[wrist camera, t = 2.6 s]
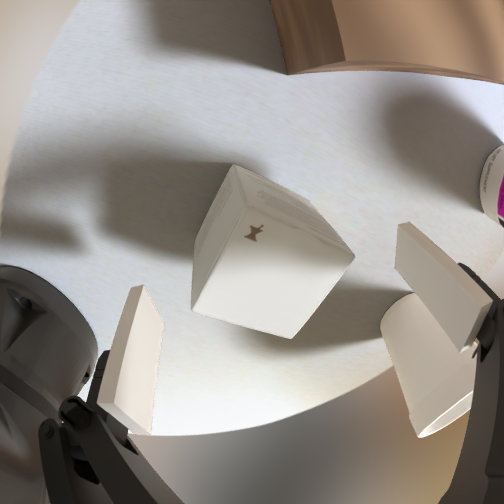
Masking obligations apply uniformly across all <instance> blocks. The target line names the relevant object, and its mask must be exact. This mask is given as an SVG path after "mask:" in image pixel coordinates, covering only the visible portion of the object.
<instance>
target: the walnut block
mask: <svg viewBox="0 0 504 504" xmlns="http://www.w3.org/2000/svg"><path fill="white" fill-rule="evenodd" d="M270 3H271V7H272V11H273V14H274V18H275V22H276V26H277V30H278V34H279V38H280V43H281V47H282V51H283V56H284V60H285V65H286V69H287V74H288V75H295V74H304V73H315V72H330V71H399V72H413V73H424V74H433V75H440V76H447V77H456V78H465V79H473V80H480V81H486V82H492V83H498V84H503V85H504V0H270Z"/></svg>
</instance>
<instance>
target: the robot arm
mask: <svg viewBox="0 0 504 504" xmlns="http://www.w3.org/2000/svg"><path fill="white" fill-rule="evenodd" d="M394 268H395V269H396V270H397V271H398V273H399V274H400V275H401V276H402V277H403V279H404V280H405V281H406V282H407V283H408V285H409V286H410V287H411V288H412V290H413V291H414V292H415V293H416V295H417V296H418V297H419V298H420V300H421V301H422V302H423V303H424V305H425V306H426V307H427V309H428V310H429V311H430V312H431V314H432V315H433V316H434V318H435V319H436V320H437V322H438V323H439V324H440V326H441V327H442V329H443V330H444V331H445V333H446V334H447V336H448V337H449V338H450V340H451V341H452V343H453V344H454V345H455V347H456V348H457V350H458V351H459V353H461V352H463V351H465V350H466V349H468V348H470V347H472V345H473V343H474V341H475V339H476V338H477V339H478V340H479V344H478V346H477V347H476V349H475V351H474V353H473V355H472V358H473V359H474V357H475V355H476V353H477V358H476V359H477V362H476V373H475V383H474V390H473V397H472V404H471V410H470V415H469V420H468V425H467V430H466V434H465V438H464V442H463V447H462V450H461V454H460V457H459V461H458V464H457V467H456V470H455V473H454V476H453V479H452V482H451V485H450V487H449V489H448V491H447V492H446V493H445V494H444V496H443V497H442V498H441V500H440V502H439V503H438V504H504V299H502V300H501V299H500V298H499V297H498V296H497V295H496V294H495V293H494V292H493V291H492V290H491V289H490V288H489V287H488V286H487V285H486V284H485V283H484V282H483V281H481V278H480V277H479V276H478V275H477V276H476V274H475V273H474V272H473V271H472V270H471V269H470V268H469V267H467V266H466V265H464V264H462V263H458V264H457V263H456V262H455V261H454V260H453V259H451V258H450V257H449V256H448V255H447V254H446V253H445V252H444V251H443V250H442V249H441V248H439V247H438V246H437V245H436V244H435V243H434V242H433V241H432V240H430V239H429V238H428V237H427V236H426V235H425V234H423V233H422V232H421V231H420V230H419V229H417V228H416V227H415V226H414V225H413V224H411V223H410V222H407V223H403V224H399V225H398V233H397V246H396V257H395V267H394ZM164 326H165V323H164V321H163V319H162V317H161V316H160V314H159V312H158V310H157V308H156V307H155V305H154V303H153V301H152V299H151V297H150V295H149V293H148V291H147V290H146V288H145V286H144V285H141V286H136V287H132V288H131V289H130V292H129V295H128V297H127V300H126V303H125V306H124V309H123V312H122V315H121V318H120V321H119V324H118V327H117V330H116V333H115V337H114V340H113V343H112V346H111V350H106V351H104V352H103V353H102V355H101V356H100V358H99V359H98V362H97V365H96V368H95V370H96V371H95V372H94V375H93V379H92V382H91V386H90V390H89V394H88V397H87V401H86V402H84V401H83V400H82V399H81V398H80V397H78V396H77V395H78V394H79V392H80V391H81V389H82V388H83V386H84V384H86V383H87V382H88V380H89V379H90V377H91V375H92V373H93V370H94V367H95V363H96V360H97V356H98V346H97V341H96V338H95V335H94V333H93V331H92V329H91V327H90V326H89V324H88V322H87V321H86V319H85V318H84V317H83V315H82V314H81V313H80V312H79V310H78V309H77V308H76V307H75V306H74V305H73V304H72V303H71V302H70V301H69V300H68V299H67V298H66V297H65V296H64V295H63V294H62V293H61V292H59V291H58V290H57V289H56V288H54V287H53V286H52V285H50V284H49V283H48V282H46V281H45V280H43V279H41V278H40V277H38V276H36V275H34V274H32V273H30V272H28V271H25V270H22V269H19V268H15V267H0V504H184V503H183V502H182V501H181V500H180V499H179V498H178V497H177V495H176V494H175V493H174V492H173V491H172V490H171V489H170V488H169V487H168V485H167V484H166V483H165V482H164V481H163V480H162V479H161V477H160V476H159V475H158V474H157V473H156V471H155V470H154V469H153V468H152V466H151V465H150V464H149V463H148V461H147V460H146V459H145V458H144V456H143V455H142V454H141V452H140V451H139V450H138V448H137V447H136V446H135V444H134V443H133V441H132V440H131V439H130V438H129V437H128V436H127V434H128V429H129V430H130V431H131V432H133V433H134V434H135V435H151V431H152V420H153V409H154V399H155V390H156V382H157V374H158V366H159V359H160V352H161V345H162V338H163V332H164ZM62 421H63V422H64V423H62Z"/></svg>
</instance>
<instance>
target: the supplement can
mask: <svg viewBox="0 0 504 504" xmlns="http://www.w3.org/2000/svg"><path fill="white" fill-rule="evenodd" d="M479 190H480V200H481V203H482V207H483V210H484V213H485V214H486V215H487V216H488V217H489V218H491V219H492V220H494V221H495V222H497V223H498V224H499V225H501V226H502V227H503V228H504V145H502V146H499V147H498V148H497V149H496V150H494V151H493V152H492V153H491V154H490V155H489V156H488V158H487V160H486V162H485V164H484V167H483V171H482V174H481V179H480V188H479Z"/></svg>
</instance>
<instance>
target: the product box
mask: <svg viewBox="0 0 504 504" xmlns="http://www.w3.org/2000/svg"><path fill="white" fill-rule="evenodd" d="M354 258H355V255H354V253H353V252H352V251H351V249H350V248H349V247H348V246H347V244H346V243H345V242H344V241H343V240H342V238H341V237H340V236H339V235H338V234H337V233H336V231H335V230H334V229H333V228H332V227H331V225H330V224H329V223H328V222H327V221H326V220H325V219H324V217H323V216H322V215H321V214H320V213H319V212H318V210H317V209H316V208H315V207H314V206H313V205H312V203H311V202H310V201H309V200H308V199H306V198H304V197H302V196H301V195H299V194H297V193H295V192H293V191H291V190H289V189H287V188H285V187H283V186H281V185H279V184H277V183H275V182H273V181H271V180H269V179H267V178H265V177H262V176H260V175H258V174H256V173H254V172H252V171H249V170H247V169H245V168H243V167H240V166H238V165H235V164H233V165H232V166H231V167H230V169H229V171H228V173H227V175H226V177H225V179H224V181H223V183H222V185H221V187H220V189H219V190H218V192H217V194H216V196H215V198H214V200H213V202H212V204H211V207H210V209H209V211H208V213H207V215H206V217H205V219H204V221H203V223H202V225H201V228H200V230H199V232H198V234H197V236H196V239H195V248H194V259H193V273H192V292H191V311H192V312H194V313H198V314H201V315H205V316H208V317H211V318H215V319H218V320H221V321H225V322H228V323H232V324H235V325H239V326H243V327H246V328H250V329H254V330H258V331H261V332H265V333H269V334H273V335H277V336H280V337H284V338H288V339H292V338H293V337H294V336H295V335H296V334H297V332H298V331H299V330H300V329H301V328H302V326H303V325H304V324H305V323H306V322H307V320H308V319H309V318H310V317H311V315H312V314H313V313H314V312H315V310H316V309H317V308H318V306H319V305H320V304H321V302H322V301H323V300H324V299H325V297H326V296H327V295H328V293H329V292H330V291H331V289H332V288H333V287H334V286H335V284H336V283H337V282H338V280H339V279H340V278H341V276H342V275H343V274H344V272H345V271H346V269H347V268H348V267H349V265H350V264H351V263H352V261H353V260H354Z"/></svg>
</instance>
